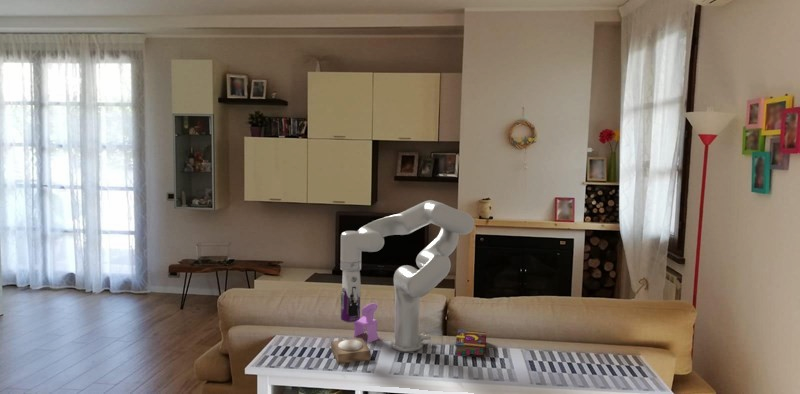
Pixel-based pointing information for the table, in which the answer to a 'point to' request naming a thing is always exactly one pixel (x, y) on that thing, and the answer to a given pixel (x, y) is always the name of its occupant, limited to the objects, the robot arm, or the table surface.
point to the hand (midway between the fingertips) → (350, 311)
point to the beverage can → (345, 308)
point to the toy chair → (367, 323)
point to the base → (350, 350)
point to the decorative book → (470, 343)
